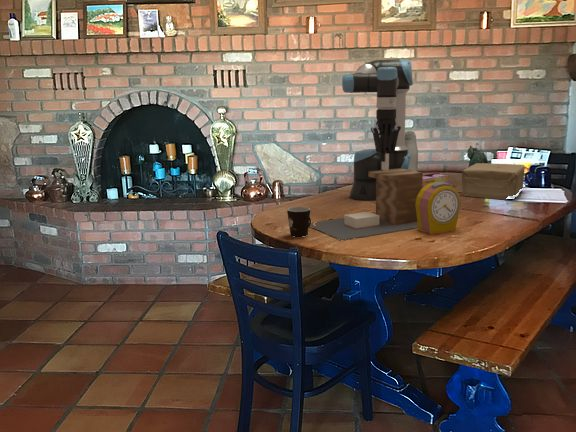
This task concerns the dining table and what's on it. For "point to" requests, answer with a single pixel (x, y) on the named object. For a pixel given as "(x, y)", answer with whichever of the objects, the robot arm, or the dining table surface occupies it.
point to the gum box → (434, 179)
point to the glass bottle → (412, 149)
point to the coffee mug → (299, 221)
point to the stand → (397, 194)
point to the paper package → (492, 180)
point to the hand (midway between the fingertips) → (385, 169)
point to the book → (361, 220)
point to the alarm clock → (437, 208)
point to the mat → (346, 232)
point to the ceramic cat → (476, 156)
